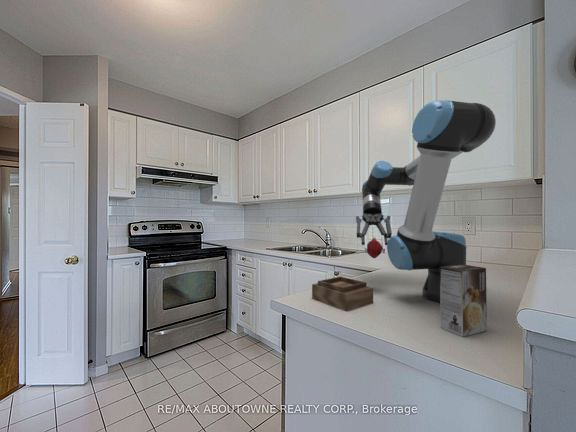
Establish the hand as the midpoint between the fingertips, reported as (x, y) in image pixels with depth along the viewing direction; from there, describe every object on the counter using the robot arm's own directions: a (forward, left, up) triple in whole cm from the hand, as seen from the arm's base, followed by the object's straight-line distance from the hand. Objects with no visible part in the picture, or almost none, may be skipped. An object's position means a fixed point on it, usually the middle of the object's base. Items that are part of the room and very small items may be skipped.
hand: (374, 250), depth 102 cm
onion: (+2, -3, -4) cm, 5 cm away
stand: (+2, +15, -16) cm, 22 cm away
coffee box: (-33, +8, -16) cm, 37 cm away
